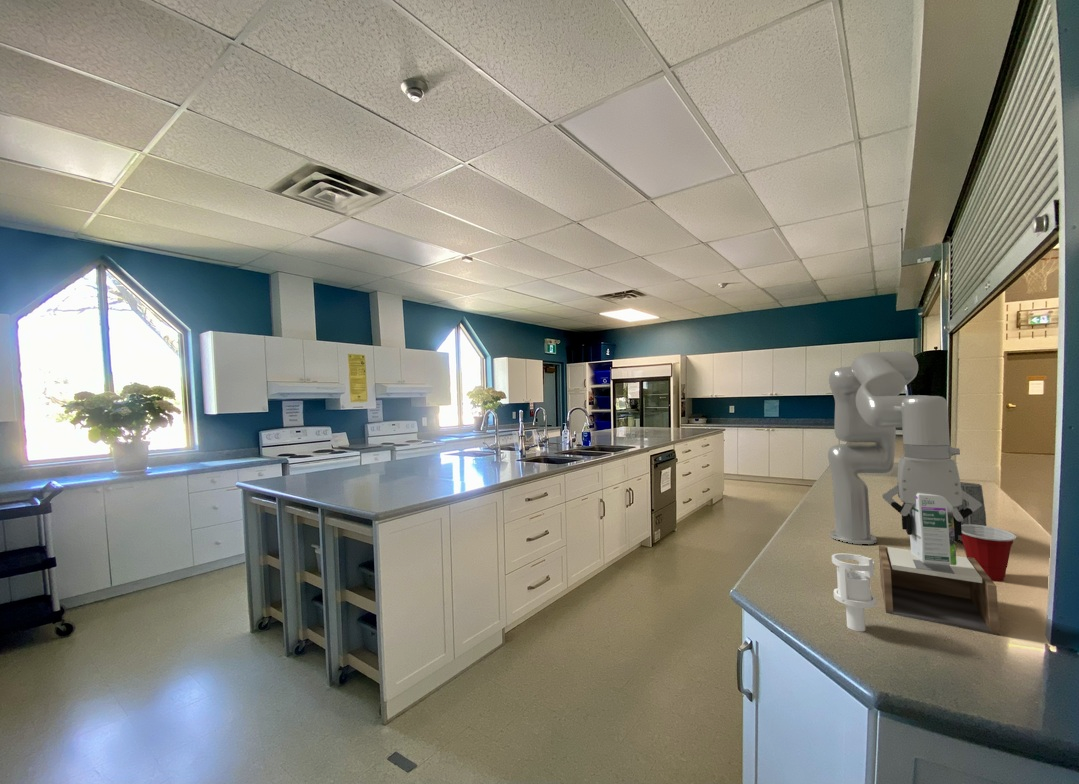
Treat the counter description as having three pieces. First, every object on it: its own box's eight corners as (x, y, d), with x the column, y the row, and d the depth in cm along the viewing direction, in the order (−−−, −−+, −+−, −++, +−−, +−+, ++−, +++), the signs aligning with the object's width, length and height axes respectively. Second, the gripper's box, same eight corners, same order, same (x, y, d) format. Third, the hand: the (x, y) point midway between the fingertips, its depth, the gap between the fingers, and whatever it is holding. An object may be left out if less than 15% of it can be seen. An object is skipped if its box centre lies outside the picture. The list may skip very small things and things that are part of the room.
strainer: (864, 640, 83) (860, 561, 83) (827, 623, 89) (823, 551, 90) (885, 631, 86) (881, 555, 86) (848, 616, 92) (844, 545, 93)
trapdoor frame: (880, 583, 108) (878, 545, 108) (976, 600, 98) (974, 558, 98) (886, 612, 93) (883, 568, 93) (999, 635, 83) (996, 586, 83)
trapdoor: (887, 551, 105) (887, 546, 105) (966, 561, 97) (966, 556, 97) (892, 569, 94) (892, 564, 94) (982, 583, 86) (981, 577, 86)
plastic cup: (974, 583, 107) (970, 534, 107) (950, 567, 117) (947, 523, 117) (1032, 588, 103) (1028, 538, 103) (1002, 571, 113) (998, 525, 113)
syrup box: (922, 563, 90) (918, 494, 91) (909, 553, 96) (906, 488, 96) (957, 566, 88) (953, 495, 88) (942, 556, 94) (938, 489, 94)
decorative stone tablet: (986, 482, 130) (920, 475, 159) (960, 482, 132) (900, 475, 161) (994, 548, 128) (926, 529, 157) (969, 547, 129) (906, 528, 158)
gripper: (978, 452, 91) (983, 537, 90) (874, 449, 101) (878, 525, 100) (987, 456, 84) (993, 547, 84) (876, 453, 95) (880, 534, 94)
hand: (931, 535), depth 92 cm, fingers closed on syrup box, 6 cm apart
